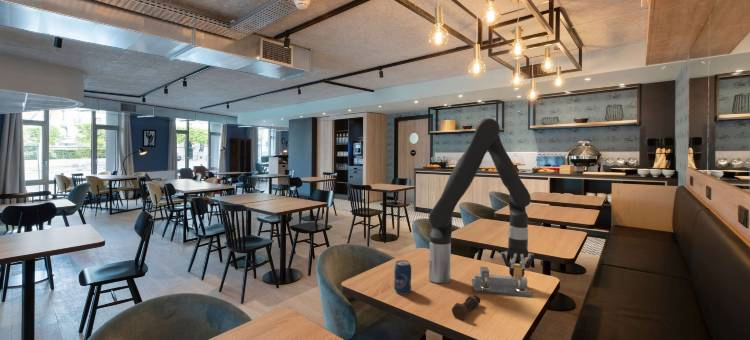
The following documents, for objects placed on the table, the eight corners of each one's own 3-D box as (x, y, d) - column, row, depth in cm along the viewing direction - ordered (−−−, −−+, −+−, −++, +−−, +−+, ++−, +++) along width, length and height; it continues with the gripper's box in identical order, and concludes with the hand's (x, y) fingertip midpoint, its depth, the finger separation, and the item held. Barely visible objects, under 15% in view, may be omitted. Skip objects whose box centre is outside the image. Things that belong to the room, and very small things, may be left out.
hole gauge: (474, 292, 138) (474, 275, 138) (471, 280, 150) (472, 265, 150) (531, 297, 134) (532, 280, 134) (524, 284, 146) (524, 268, 146)
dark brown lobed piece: (478, 309, 128) (460, 323, 117) (468, 299, 131) (449, 312, 120) (486, 298, 126) (468, 312, 115) (475, 288, 129) (457, 301, 118)
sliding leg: (515, 287, 139) (516, 270, 138) (511, 279, 146) (511, 263, 146) (523, 287, 138) (523, 270, 138) (518, 280, 146) (519, 263, 145)
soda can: (391, 293, 138) (392, 264, 137) (397, 286, 144) (397, 258, 143) (408, 296, 135) (408, 266, 134) (413, 289, 142) (413, 261, 141)
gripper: (502, 238, 140) (500, 278, 141) (538, 240, 137) (536, 281, 139) (499, 233, 147) (497, 272, 148) (533, 235, 145) (531, 274, 146)
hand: (516, 276), depth 144 cm, fingers closed on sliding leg, 3 cm apart
